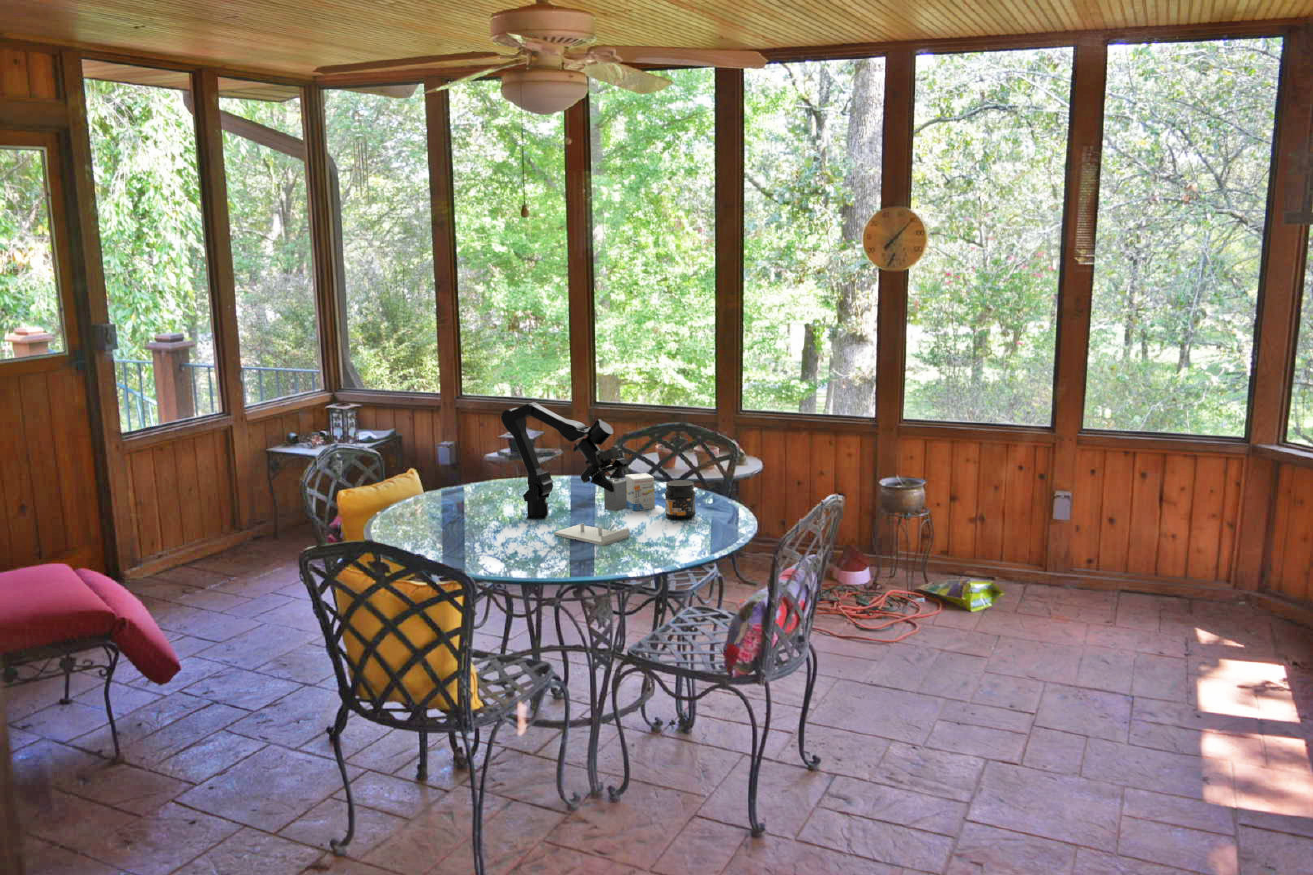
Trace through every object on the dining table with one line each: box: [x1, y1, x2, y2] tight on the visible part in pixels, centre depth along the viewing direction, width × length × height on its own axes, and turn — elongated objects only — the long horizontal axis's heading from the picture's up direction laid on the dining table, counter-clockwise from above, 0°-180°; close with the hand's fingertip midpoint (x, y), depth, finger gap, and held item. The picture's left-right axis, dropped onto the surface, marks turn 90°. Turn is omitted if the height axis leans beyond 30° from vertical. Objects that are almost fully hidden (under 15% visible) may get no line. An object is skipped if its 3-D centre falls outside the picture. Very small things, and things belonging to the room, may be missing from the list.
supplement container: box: [664, 479, 697, 521], centre depth 368 cm, size 10×10×12 cm
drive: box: [603, 477, 628, 513], centre depth 355 cm, size 5×6×10 cm
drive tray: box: [553, 523, 630, 547], centre depth 346 cm, size 22×12×4 cm, turn 51°
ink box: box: [624, 472, 656, 512], centre depth 383 cm, size 9×8×12 cm
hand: (618, 490), depth 354 cm, fingers closed on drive, 5 cm apart
